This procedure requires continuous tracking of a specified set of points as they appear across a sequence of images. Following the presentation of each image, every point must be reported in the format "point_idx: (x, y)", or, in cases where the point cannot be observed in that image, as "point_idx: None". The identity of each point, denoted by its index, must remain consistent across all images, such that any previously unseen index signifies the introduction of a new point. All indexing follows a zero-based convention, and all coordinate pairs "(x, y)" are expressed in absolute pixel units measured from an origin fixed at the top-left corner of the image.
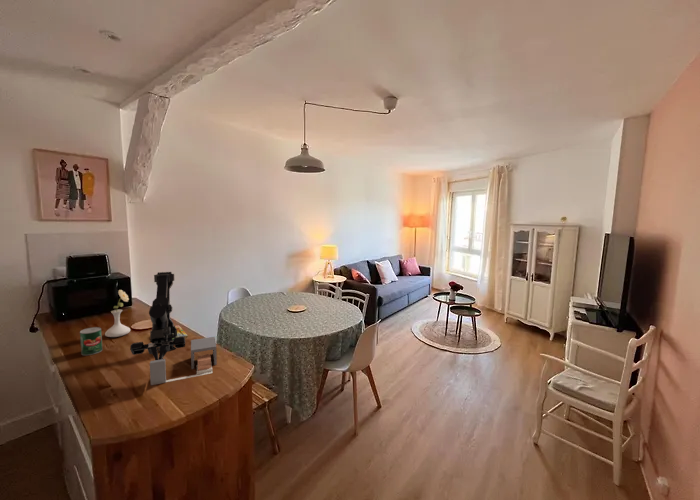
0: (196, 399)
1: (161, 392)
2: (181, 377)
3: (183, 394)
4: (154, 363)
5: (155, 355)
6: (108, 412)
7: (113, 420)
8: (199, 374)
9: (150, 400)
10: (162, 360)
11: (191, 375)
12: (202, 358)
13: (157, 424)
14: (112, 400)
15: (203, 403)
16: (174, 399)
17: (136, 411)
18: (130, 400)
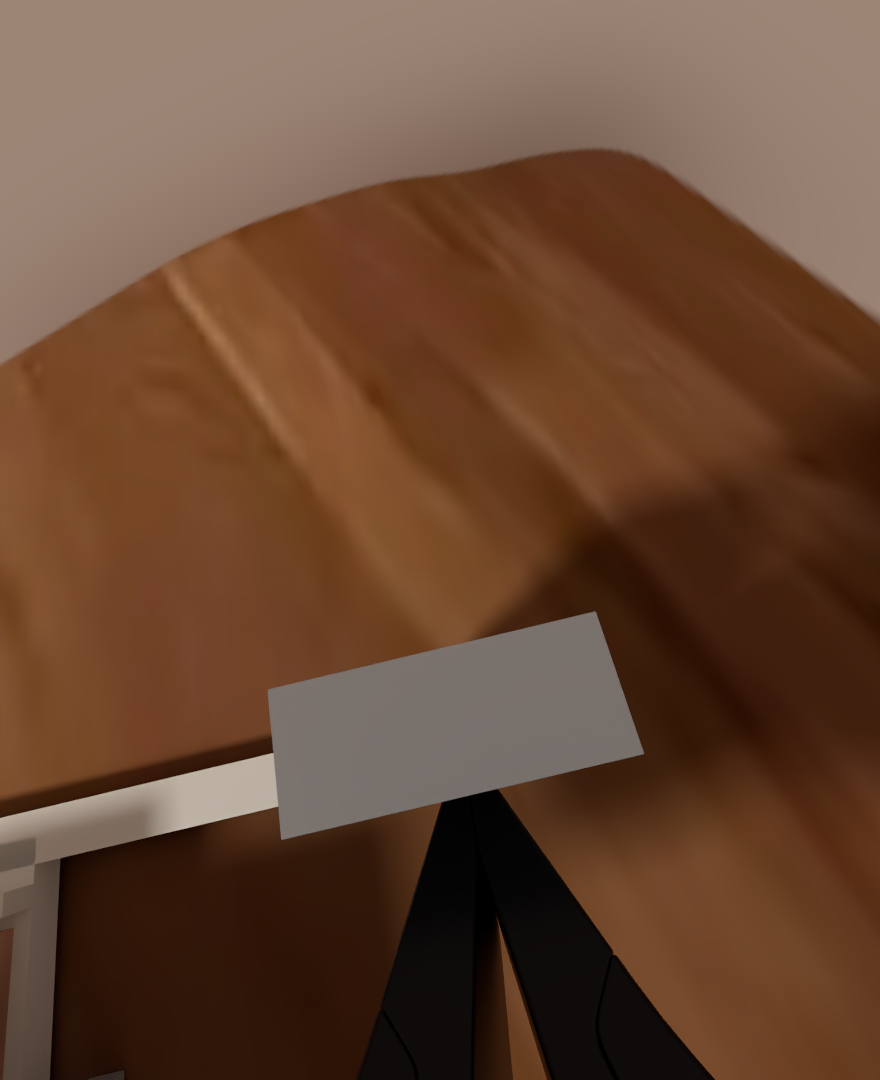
0: (89, 419)
1: (396, 576)
2: (216, 816)
3: (190, 506)
4: (492, 640)
5: (600, 1020)
6: (725, 351)
7: (618, 266)
8: (2, 850)
9: (452, 460)
10: (328, 728)
11: (98, 846)
12: None
13: (311, 212)
14: (827, 515)
15: (45, 366)
16: (255, 444)
17: (503, 337)
18: (639, 488)
